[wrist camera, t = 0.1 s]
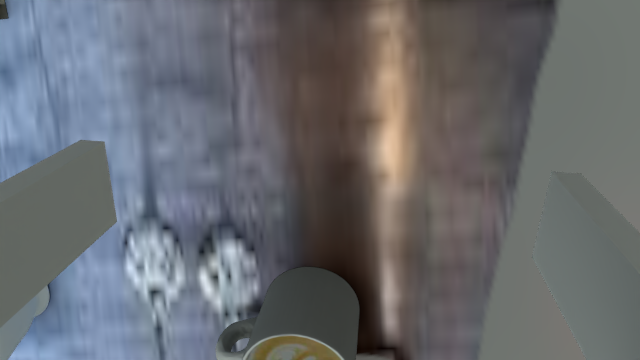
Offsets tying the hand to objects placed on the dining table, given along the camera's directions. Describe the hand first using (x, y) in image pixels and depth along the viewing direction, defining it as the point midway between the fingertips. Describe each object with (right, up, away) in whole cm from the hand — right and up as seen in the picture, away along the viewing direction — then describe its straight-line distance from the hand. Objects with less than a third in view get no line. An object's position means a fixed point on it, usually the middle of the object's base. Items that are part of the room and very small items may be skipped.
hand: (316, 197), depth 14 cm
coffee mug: (-2, -13, +36) cm, 39 cm away
